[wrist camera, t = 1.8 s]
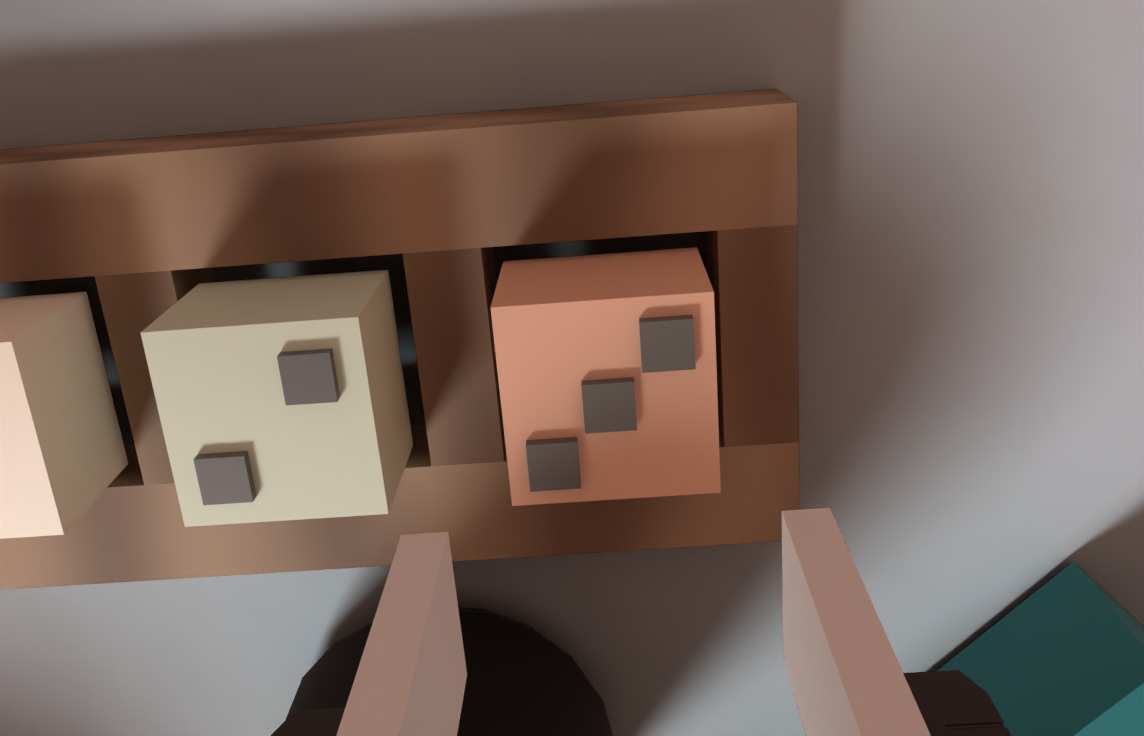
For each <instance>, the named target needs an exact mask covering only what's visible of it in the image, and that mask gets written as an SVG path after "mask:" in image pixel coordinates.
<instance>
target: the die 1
mask: <svg viewBox="0 0 1144 736" xmlns="http://www.w3.org/2000/svg"><path fill="white" fill-rule="evenodd" d="M127 465H128V460H127V456H126V452H125V448H124V444H123V440H122V436H121V431H120V427H119V423H118V419H117V415H116V411H115V407H114V403H113V399H112V394H111V390H110V386H109V382H108V378H107V374H106V370H105V366H104V362H103V357H102V353H101V349H100V345H99V341H98V337H97V333H96V329H95V325H94V320H93V316H92V312H91V308H90V304H89V300H88V296H87V292H75V293H62V294H48V295H34V296H20V297H7V298H0V539H5V538H20V537H36V536H51V535H64V534H65V533H66V532H67V531H68V530H69V529H70V527H71V526H72V525H73V524H74V523H75V522H76V521H77V520H78V519H79V518H80V516H81V515H82V514H83V513H84V512H85V511H86V510H87V509H88V508H89V507H90V505H91V504H92V503H93V502H94V501H95V500H96V499H97V498H98V497H99V496H100V494H101V493H102V492H103V491H104V490H105V489H106V488H107V487H108V486H109V485H110V483H111V482H112V481H113V480H114V479H115V478H116V477H117V476H118V475H119V474H120V472H121V471H122V470H123V469H124V468H125V467H126V466H127Z"/></svg>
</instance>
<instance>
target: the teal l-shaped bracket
mask: <svg viewBox="0 0 1144 736" xmlns="http://www.w3.org/2000/svg"><path fill="white" fill-rule="evenodd" d="M950 670H960V671H961V672H962V673H963V674H965V675H966V676H967V677H968V678H970V679H971V680H972V681H973V682H975V683H976V684H977V685H978V686H979V687H981V688H982V689H983V690H984V691H986V692H987V693H988V694H989V696H990V698H991V700H992V701H993V703H994V705H995V707H996V709H997V711H998V712H999V714H1000V716H1001V718H1002V720H1003V722H1004V727H1007V729H1008V731H1009V733H1010V734H1011V736H1144V626H1143V625H1142V624H1140V623H1139V622H1138V621H1137V620H1136V619H1135V618H1134V617H1133V616H1132V615H1131V614H1130V613H1129V612H1128V611H1126V610H1125V609H1124V608H1123V607H1122V606H1121V605H1120V604H1119V603H1118V602H1117V601H1116V600H1115V599H1113V598H1112V597H1111V596H1110V595H1109V594H1108V593H1107V592H1106V591H1105V590H1104V589H1103V588H1102V587H1100V586H1099V585H1098V584H1097V583H1096V582H1095V581H1094V580H1093V579H1092V578H1091V577H1090V576H1089V575H1087V574H1086V573H1085V572H1084V571H1083V570H1082V569H1081V568H1080V567H1079V566H1078V565H1077V564H1076V563H1075V562H1072V563H1071V564H1070V565H1068V566H1067V567H1066V568H1065V569H1063V570H1062V571H1061V572H1060V573H1058V574H1057V575H1056V576H1055V577H1053V578H1052V579H1051V580H1050V581H1048V582H1047V583H1046V584H1045V585H1043V586H1042V587H1041V588H1040V589H1038V590H1037V591H1036V592H1035V593H1033V594H1032V595H1031V596H1030V597H1028V598H1027V599H1026V600H1025V601H1023V602H1022V603H1021V604H1020V605H1018V606H1017V607H1016V608H1015V609H1013V610H1012V611H1011V612H1010V613H1008V614H1007V615H1006V616H1005V617H1003V618H1002V619H1001V620H1000V621H998V622H997V623H996V624H995V625H994V626H992V627H991V628H990V629H989V630H987V631H986V632H985V633H984V634H982V635H981V636H980V637H979V638H977V639H976V640H975V641H974V642H972V643H971V644H970V645H969V646H967V647H966V648H965V649H964V650H962V651H961V652H960V653H959V654H957V655H956V656H955V657H954V658H952V659H951V660H950V661H949V662H947V663H946V664H945V665H944V666H942V667H941V668H940V669H939V670H937V671H950Z"/></svg>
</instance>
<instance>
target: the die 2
mask: <svg viewBox="0 0 1144 736" xmlns="http://www.w3.org/2000/svg"><path fill="white" fill-rule="evenodd" d="M140 333H141V338H142V342H143V346H144V351H145V355H146V359H147V364H148V368H149V373H150V377H151V381H152V386H153V390H154V394H155V399H156V403H157V408H158V412H159V416H160V421H161V425H162V430H163V434H164V438H165V443H166V447H167V451H168V456H169V460H170V465H171V469H172V473H173V478H174V482H175V486H176V491H177V495H178V500H179V504H180V508H181V513H182V517H183V522H184V526H185V527H192V526H208V525H223V524H239V523H255V522H270V521H286V520H302V519H317V518H333V517H349V516H364V515H380V514H389V511H390V508H391V505H392V503H393V500H394V497H395V494H396V491H397V489H398V486H399V483H400V480H401V477H402V475H403V472H404V469H405V466H406V463H407V461H408V458H409V455H410V452H411V449H412V447H413V440H412V433H411V426H410V419H409V412H408V405H407V398H406V391H405V384H404V377H403V370H402V363H401V356H400V348H399V341H398V334H397V327H396V320H395V313H394V306H393V299H392V292H391V285H390V278H389V271H388V270H378V271H364V272H350V273H336V274H323V275H309V276H295V277H281V278H268V279H254V280H240V281H227V282H213V283H199V284H198V285H197V286H195V287H194V288H193V289H192V290H191V291H189V292H188V293H187V294H186V295H185V296H183V297H182V298H181V299H180V300H179V301H177V302H176V303H175V304H174V305H173V306H171V307H170V308H169V309H168V310H167V311H165V312H164V313H163V314H162V315H161V316H160V317H158V318H157V319H156V320H155V321H154V322H152V323H151V324H150V325H149V326H148V327H146V328H145V329H144V330H143V331H142V332H140Z"/></svg>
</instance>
